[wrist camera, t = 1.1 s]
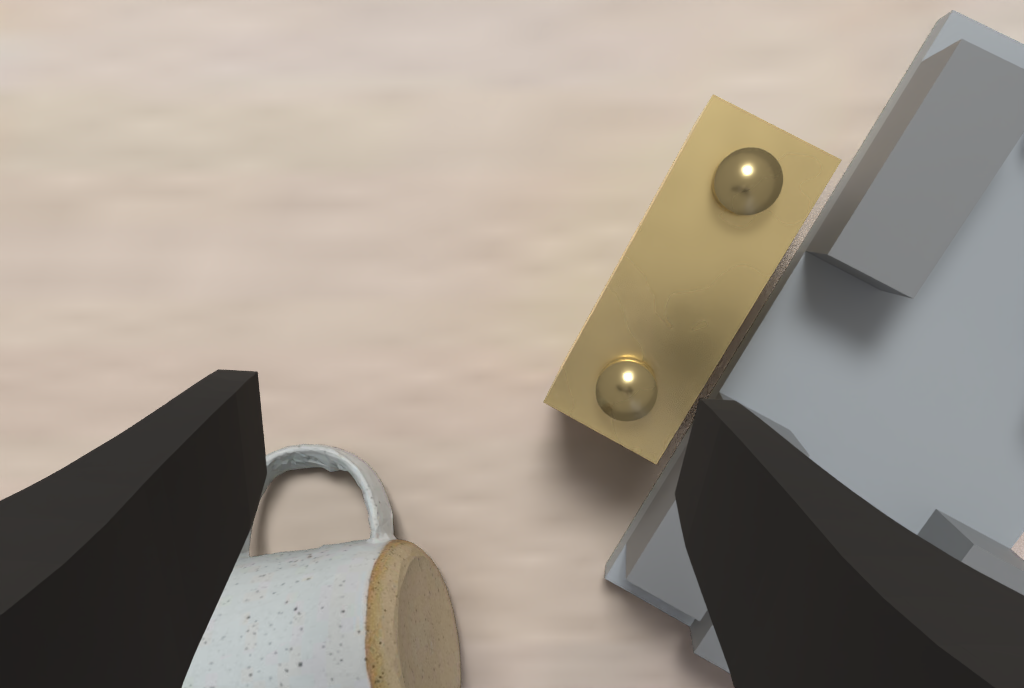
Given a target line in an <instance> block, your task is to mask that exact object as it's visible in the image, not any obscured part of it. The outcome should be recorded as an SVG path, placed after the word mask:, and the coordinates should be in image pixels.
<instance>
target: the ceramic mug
mask: <svg viewBox="0 0 1024 688" xmlns="http://www.w3.org/2000/svg"><path fill="white" fill-rule="evenodd" d="M266 465H267V476H266V480H265V483H264V487H263V490H262V494H261V497H262V495H263V494H264V492H265V490H266V489H267V486H268V485H269V484H270V483H271V482H272V480H273V479H274V478H275V477H277V476H278V475H280V474H283V473H284V472H285V471H287V470H295V469H303V468H312V467H322V468H324V469H326V470H328V471H330V472H334V471H339V470H343V471H348V472H349V473H350V474H351V475H352V476H353V478H354V480H355V481H356V483H357V485H358V486H359V487H360V488H361V490H362V493H363V497H364V501H365V504H366V507H367V510H368V514H369V525H370V528H371V535H370V538H369V539H367V540H359V541H351V542H346V543H340V544H332V545H323V546H321V547H320V548H315V549H309V550H300V551H290V552H279V553H274V554H266V555H261V556H253V557H250V556H249V546H250V538H251V532H252V527H251V530H250V532H249V534H248V537H247V539H246V541H245V544H244V546H243V548H242V550H241V553H240V555H239V557H238V559H237V562H236V564H235V566H234V568H233V571H232V573H231V575H230V577H229V579H228V582H227V584H226V586H225V588H224V590H223V593H222V595H221V597H220V599H219V601H218V604H217V606H216V608H215V610H214V613H213V615H212V617H211V619H210V621H209V624H208V626H207V628H206V630H205V632H204V635H203V637H202V639H201V641H200V643H199V646H198V648H197V650H196V652H195V655H194V657H193V660H192V662H191V665H190V667H189V670H188V672H187V675H186V677H185V680H184V682H183V685H182V688H461V667H460V650H459V639H458V634H457V629H456V623H455V618H454V612H453V608H452V604H451V601H450V598H449V595H448V591H447V588H446V586H445V583H444V581H443V579H442V576H441V574H440V572H439V570H438V568H437V567H436V565H435V564H434V562H433V561H432V559H431V558H430V557H429V556H428V555H427V554H426V553H425V552H424V551H423V550H422V549H421V548H419V547H418V546H416V545H415V544H413V543H411V542H408V541H405V540H397V539H396V537H395V536H394V535H393V533H394V530H393V514H392V509H391V505H390V503H389V500H388V497H387V495H386V492H385V489H384V487H383V484H382V482H381V481H380V479H379V478H378V476H377V474H376V473H375V471H374V470H373V469H372V468H371V467H370V466H369V465H368V464H367V463H366V461H364V460H363V459H361V458H359V457H358V456H356V455H355V454H353V453H350V452H348V451H345V450H342V449H339V448H336V447H330V446H326V445H312V444H302V445H294V446H287V447H285V448H282V449H280V450H277V451H275V452H272V453H270V454H268V455H266ZM260 499H261V498H260ZM252 526H253V524H252Z"/></svg>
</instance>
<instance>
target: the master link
mask: <svg viewBox="0 0 1024 688" xmlns="http://www.w3.org/2000/svg"><path fill="white" fill-rule="evenodd" d="M840 162H841V159H839V158H837V157H835V156H833V155H831V154H829V153H827V152H825V151H823V150H821V149H819V148H817V147H815V146H813V145H811V144H809V143H807V142H805V141H803V140H801V139H799V138H798V137H796V136H794V135H792V134H790V133H788V132H786V131H784V130H782V129H780V128H778V127H776V126H774V125H772V124H770V123H768V122H766V121H764V120H762V119H760V118H758V117H756V116H754V115H752V114H750V113H749V112H747V111H745V110H743V109H741V108H739V107H737V106H735V105H733V104H731V103H729V102H727V101H725V100H723V99H721V98H719V97H717V96H715V95H712V97H711V99H710V100H709V102H708V103H707V105H706V106H705V108H704V110H703V111H702V113H701V114H700V116H699V118H698V119H697V121H696V122H695V124H694V126H693V128H692V130H691V131H690V133H689V135H688V137H687V139H686V140H685V142H684V144H683V146H682V148H681V150H680V151H679V153H678V155H677V157H676V159H675V160H674V162H673V164H672V166H671V168H670V170H669V171H668V173H667V175H666V177H665V179H664V180H663V182H662V184H661V186H660V188H659V190H658V191H657V193H656V195H655V197H654V199H653V200H652V202H651V204H650V206H649V208H648V209H647V211H646V213H645V215H644V217H643V219H642V220H641V222H640V224H639V226H638V228H637V229H636V231H635V233H634V235H633V237H632V239H631V240H630V242H629V244H628V246H627V248H626V249H625V251H624V253H623V255H622V257H621V258H620V260H619V262H618V264H617V266H616V268H615V269H614V271H613V273H612V275H611V277H610V278H609V280H608V282H607V284H606V286H605V288H604V289H603V291H602V293H601V295H600V297H599V298H598V300H597V302H596V304H595V306H594V308H593V309H592V311H591V313H590V315H589V317H588V318H587V320H586V322H585V324H584V326H583V327H582V329H581V331H580V333H579V335H578V337H577V338H576V340H575V342H574V344H573V346H572V347H571V349H570V351H569V353H568V355H567V357H566V358H565V360H564V362H563V364H562V366H561V367H560V369H559V371H558V374H557V376H556V378H555V380H554V382H553V384H552V386H551V388H550V390H549V392H548V394H547V396H546V398H545V400H544V403H546V404H548V405H549V406H551V407H553V408H555V409H557V410H558V411H560V412H562V413H564V414H566V415H567V416H569V417H571V418H573V419H575V420H577V421H578V422H580V423H582V424H584V425H586V426H587V427H589V428H591V429H593V430H595V431H596V432H598V433H600V434H602V435H604V436H605V437H607V438H609V439H611V440H613V441H615V442H616V443H618V444H620V445H622V446H624V447H625V448H627V449H629V450H631V451H633V452H634V453H636V454H638V455H640V456H642V457H644V458H645V459H647V460H649V461H651V462H653V463H654V464H657V463H658V461H659V460H660V458H661V456H662V455H663V453H664V451H665V450H666V448H667V446H668V445H669V443H670V441H671V440H672V438H673V437H674V435H675V433H676V432H677V430H678V428H679V427H680V425H681V423H682V422H683V420H684V418H685V417H686V415H687V413H688V412H689V410H690V409H691V407H692V405H693V404H694V402H695V400H696V399H697V397H698V395H699V394H700V392H701V390H702V389H703V387H704V386H705V384H706V382H707V381H708V379H709V377H710V376H711V374H712V372H713V371H714V369H715V367H716V366H717V364H718V363H719V361H720V359H721V358H722V356H723V354H724V353H725V351H726V349H727V348H728V346H729V344H730V343H731V341H732V340H733V338H734V336H735V335H736V333H737V331H738V330H739V328H740V326H741V325H742V323H743V321H744V320H745V318H746V316H747V315H748V313H749V312H750V310H751V308H752V307H753V305H754V303H755V302H756V300H757V298H758V297H759V295H760V293H761V292H762V290H763V289H764V287H765V285H766V284H767V282H768V280H769V279H770V277H771V275H772V274H773V272H774V270H775V269H776V267H777V266H778V264H779V262H780V261H781V259H782V257H783V256H784V254H785V252H786V251H787V249H788V247H789V246H790V244H791V243H792V241H793V239H794V238H795V236H796V234H797V233H798V231H799V229H800V228H801V226H802V224H803V223H804V221H805V219H806V218H807V216H808V215H809V213H810V211H811V210H812V208H813V206H814V205H815V203H816V201H817V200H818V198H819V196H820V195H821V193H822V192H823V190H824V188H825V187H826V185H827V183H828V182H829V180H830V178H831V177H832V175H833V173H834V172H835V170H836V169H837V167H838V165H839V164H840Z"/></svg>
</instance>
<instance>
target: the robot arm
mask: <svg viewBox="0 0 1024 688" xmlns="http://www.w3.org/2000/svg"><path fill="white" fill-rule="evenodd" d="M266 476H267V465H266V455H265V444H264V434H263V424H262V413H261V403H260V392H259V382H258V372H253V371H236V370H219V369H218V370H217V371H215V372H213V373H212V374H210V375H208V376H207V377H205V378H204V379H202V380H200V381H199V382H197V383H196V384H194V385H193V386H191V387H190V388H188V389H187V390H185V391H184V392H183V393H181V394H180V395H178V396H177V397H175V398H174V399H172V400H171V401H169V402H168V403H166V404H165V405H163V406H162V407H160V408H159V409H157V410H156V411H154V412H153V413H151V414H150V415H148V416H147V417H145V418H144V419H142V420H141V421H139V422H138V423H136V424H135V425H133V426H132V427H130V428H128V429H127V430H125V431H124V432H122V433H121V434H119V435H118V436H116V437H114V438H113V439H111V440H109V441H108V442H106V443H104V444H102V445H101V446H99V447H97V448H96V449H94V450H92V451H91V452H89V453H87V454H86V455H84V456H82V457H81V458H79V459H77V460H76V461H74V462H72V463H71V464H69V465H67V466H66V467H64V468H62V469H61V470H59V471H57V472H55V473H53V474H52V475H50V476H48V477H46V478H44V479H42V480H41V481H39V482H37V483H35V484H33V485H31V486H29V487H27V488H25V489H23V490H21V491H19V492H17V493H15V494H13V495H11V496H9V497H7V498H5V499H3V500H1V501H0V688H182V685H183V682H184V680H185V677H186V675H187V672H188V670H189V667H190V665H191V662H192V660H193V657H194V655H195V652H196V650H197V648H198V646H199V643H200V641H201V639H202V637H203V635H204V632H205V630H206V628H207V626H208V624H209V621H210V619H211V617H212V615H213V613H214V610H215V608H216V606H217V604H218V601H219V599H220V597H221V595H222V593H223V590H224V588H225V586H226V584H227V582H228V579H229V577H230V575H231V573H232V571H233V568H234V566H235V564H236V562H237V559H238V557H239V555H240V553H241V550H242V548H243V546H244V544H245V541H246V539H247V537H248V534H249V532H250V530H251V527H252V524H253V521H254V518H255V514H256V511H257V508H258V505H259V501H260V498H261V494H262V490H263V487H264V483H265V480H266ZM675 498H676V504H677V509H678V514H679V519H680V524H681V529H682V533H683V538H684V542H685V547H686V550H687V553H688V556H689V559H690V562H691V565H692V568H693V570H694V573H695V576H696V579H697V582H698V585H699V587H700V590H701V593H702V596H703V599H704V601H705V604H706V607H707V610H708V612H709V615H710V618H711V621H712V624H713V626H714V629H715V632H716V635H717V637H718V640H719V643H720V646H721V649H722V651H723V654H724V657H725V660H726V662H727V665H728V668H729V671H730V674H731V677H732V681H733V684H734V687H735V688H1024V595H1022V594H1020V593H1018V592H1017V591H1015V590H1013V589H1011V588H1009V587H1007V586H1005V585H1003V584H1001V583H999V582H998V581H996V580H994V579H992V578H990V577H988V576H986V575H984V574H982V573H980V572H979V571H977V570H975V569H973V568H972V567H970V566H968V565H966V564H964V563H963V562H961V561H959V560H957V559H956V558H954V557H952V556H951V555H949V554H947V553H946V552H944V551H942V550H941V549H939V548H938V547H936V546H934V545H933V544H931V543H929V542H928V541H926V540H924V539H923V538H921V537H920V536H918V535H916V534H915V533H913V532H911V531H910V530H908V529H907V528H905V527H904V526H902V525H901V524H899V523H898V522H896V521H895V520H893V519H891V518H890V517H889V516H887V515H886V514H884V513H883V512H881V511H880V510H879V509H877V508H876V507H874V506H873V505H871V504H870V503H869V502H867V501H866V500H864V499H863V498H862V497H860V496H859V495H857V494H856V493H855V492H853V491H852V490H850V489H849V488H848V487H846V486H845V485H844V484H842V483H841V482H840V481H838V480H837V479H836V478H834V477H833V476H832V475H830V474H829V473H828V472H827V471H825V470H824V469H823V468H821V467H820V466H819V465H818V464H816V463H815V462H814V461H812V460H811V459H810V458H809V457H807V456H806V455H805V454H804V453H802V452H801V451H800V450H799V449H797V448H796V447H795V446H794V445H792V444H791V443H790V442H789V441H787V440H786V439H785V438H784V437H783V436H781V435H780V434H779V433H778V432H776V431H775V430H774V429H773V428H771V427H770V426H769V425H768V424H766V423H765V422H764V421H763V420H761V419H760V418H759V417H758V416H756V415H755V414H754V413H752V412H751V411H750V410H748V409H747V408H746V407H744V406H743V405H741V404H740V403H738V402H737V401H735V400H719V399H703V398H699V402H698V406H697V410H696V414H695V417H694V421H693V425H692V429H691V433H690V437H689V440H688V444H687V448H686V452H685V456H684V460H683V463H682V467H681V471H680V475H679V479H678V483H677V486H676V490H675Z"/></svg>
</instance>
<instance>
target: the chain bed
mask: <svg viewBox="0 0 1024 688" xmlns="http://www.w3.org/2000/svg"><path fill="white" fill-rule="evenodd" d="M707 399H719V400H735V401H737V402H738V403H740V404H741V405H743V406H744V407H746V408H747V409H748V410H750V411H751V412H752V413H754V414H755V415H756V416H758V417H759V418H760V419H761V420H763V421H764V422H765V423H766V424H768V425H769V426H770V427H771V428H773V429H774V430H775V431H776V432H778V433H779V434H780V435H781V436H783V437H784V438H785V439H786V440H787V441H789V442H790V443H791V444H792V445H794V446H795V447H796V448H797V449H799V450H800V451H801V452H802V453H804V454H805V455H806V456H807V457H809V458H810V459H811V460H812V461H814V462H815V463H816V464H818V465H819V466H820V467H821V468H823V469H824V470H825V471H827V472H828V473H829V474H830V475H832V476H833V477H834V478H836V479H837V480H838V481H840V482H841V483H842V484H844V485H845V486H846V487H848V488H849V489H850V490H852V491H853V492H855V493H856V494H857V495H859V496H860V497H862V498H863V499H864V500H866V501H867V502H869V503H870V504H871V505H873V506H874V507H876V508H877V509H879V510H880V511H881V512H883V513H884V514H886V515H887V516H889V517H890V518H891V519H893V520H895V521H896V522H898V523H899V524H901V525H902V526H904V527H905V528H907V529H908V530H910V531H911V532H913V533H915V534H916V535H918V536H920V537H921V538H923V539H924V540H926V541H928V542H929V543H931V544H933V545H934V546H936V547H938V548H939V549H941V550H942V551H944V552H946V553H947V554H949V555H951V556H952V557H954V558H956V559H957V560H959V561H961V562H963V563H964V564H966V565H968V566H970V567H972V568H973V569H975V570H977V571H979V572H980V573H982V574H984V575H986V576H988V577H990V578H992V579H994V580H996V581H998V582H999V583H1001V584H1003V585H1005V586H1007V587H1009V588H1011V589H1013V590H1015V591H1017V592H1018V593H1020V594H1022V595H1024V560H1023V559H1022V558H1020V557H1019V556H1018V555H1017V554H1016V553H1015V552H1013V551H1012V550H1011V548H1012V546H1013V545H1014V544H1015V543H1016V541H1017V540H1018V539H1019V537H1020V536H1021V535H1022V533H1023V532H1024V44H1022V43H1020V42H1018V41H1016V40H1014V39H1012V38H1010V37H1008V36H1005V35H1003V34H1001V33H999V32H997V31H995V30H993V29H991V28H989V27H987V26H985V25H983V24H981V23H979V22H977V21H975V20H973V19H971V18H968V17H966V16H964V15H962V14H960V13H958V12H956V11H954V10H952V11H951V12H949V13H948V14H946V15H945V16H943V17H942V18H940V19H939V20H938V21H937V23H936V24H935V26H934V27H933V29H932V31H931V32H930V34H929V36H928V37H927V39H926V41H925V42H924V44H923V45H922V47H921V49H920V50H919V52H918V54H917V55H916V57H915V59H914V60H913V62H912V64H911V65H910V67H909V68H908V70H907V72H906V73H905V75H904V77H903V78H902V80H901V82H900V83H899V85H898V86H897V88H896V90H895V91H894V93H893V95H892V96H891V98H890V100H889V101H888V103H887V105H886V106H885V108H884V109H883V111H882V113H881V114H880V116H879V118H878V119H877V121H876V123H875V124H874V126H873V127H872V129H871V131H870V132H869V134H868V136H867V137H866V139H865V141H864V142H863V144H862V145H861V147H860V149H859V150H858V152H857V154H856V155H855V157H854V159H853V160H852V162H851V164H850V165H849V167H848V168H847V170H846V172H845V173H844V175H843V177H842V178H841V180H840V182H839V183H838V185H837V186H836V188H835V190H834V191H833V193H832V195H831V196H830V198H829V200H828V201H827V203H826V205H825V206H824V208H823V209H822V211H821V213H820V214H819V216H818V218H817V219H816V221H815V223H814V224H813V226H812V227H811V229H810V231H809V232H808V234H807V236H806V237H805V239H804V241H803V242H802V244H801V246H800V247H799V249H798V250H797V252H796V254H795V255H794V257H793V259H792V260H791V262H790V264H789V265H788V267H787V268H786V270H785V272H784V273H783V275H782V277H781V278H780V280H779V282H778V283H777V285H776V286H775V288H774V290H773V291H772V293H771V295H770V296H769V298H768V300H767V301H766V303H765V305H764V306H763V308H762V309H761V311H760V313H759V314H758V316H757V318H756V319H755V321H754V323H753V324H752V326H751V327H750V329H749V331H748V332H747V334H746V336H745V337H744V339H743V341H742V342H741V344H740V346H739V347H738V349H737V350H736V352H735V354H734V355H733V357H732V359H731V360H730V362H729V364H728V365H727V367H726V368H725V370H724V372H723V373H722V375H721V377H720V378H719V380H718V382H717V383H716V385H715V386H714V388H713V390H712V391H711V393H710V395H709V396H708V398H707ZM692 425H693V423H692V424H691V426H690V427H689V429H688V431H687V432H686V434H685V436H684V437H683V439H682V441H681V442H680V444H679V446H678V447H677V449H676V450H675V452H674V454H673V455H672V457H671V459H670V460H669V462H668V464H667V465H666V467H665V468H664V470H663V472H662V473H661V475H660V477H659V478H658V480H657V482H656V483H655V485H654V486H653V488H652V490H651V491H650V493H649V495H648V496H647V498H646V500H645V501H644V503H643V505H642V506H641V508H640V509H639V511H638V513H637V514H636V516H635V518H634V519H633V521H632V523H631V524H630V526H629V527H628V529H627V531H626V532H625V534H624V536H623V537H622V539H621V541H620V542H619V544H618V546H617V547H616V549H615V550H614V552H613V554H612V555H611V557H610V559H609V560H608V562H607V564H606V569H605V579H607V580H608V581H610V582H612V583H614V584H615V585H617V586H619V587H621V588H623V589H624V590H626V591H628V592H630V593H631V594H633V595H635V596H637V597H638V598H640V599H642V600H644V601H645V602H647V603H649V604H651V605H653V606H654V607H656V608H658V609H660V610H661V611H663V612H665V613H667V614H668V615H670V616H672V617H674V618H675V619H677V620H679V621H681V622H683V623H684V624H686V625H688V626H690V631H691V638H692V645H693V651H694V653H695V654H697V655H698V656H700V657H702V658H704V659H705V660H707V661H709V662H711V663H712V664H714V665H716V666H718V667H719V668H721V669H723V670H725V671H726V672H728V673H730V671H729V668H728V665H727V662H726V660H725V657H724V654H723V651H722V649H721V646H720V643H719V640H718V637H717V635H716V632H715V629H714V626H713V624H712V621H711V618H710V615H709V612H708V610H707V607H706V604H705V601H704V599H703V596H702V593H701V590H700V587H699V585H698V582H697V579H696V576H695V573H694V570H693V568H692V565H691V562H690V559H689V556H688V553H687V550H686V547H685V542H684V538H683V533H682V529H681V524H680V519H679V514H678V509H677V504H676V498H675V490H676V486H677V483H678V479H679V475H680V471H681V467H682V463H683V460H684V456H685V452H686V448H687V444H688V440H689V437H690V433H691V429H692Z"/></svg>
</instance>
